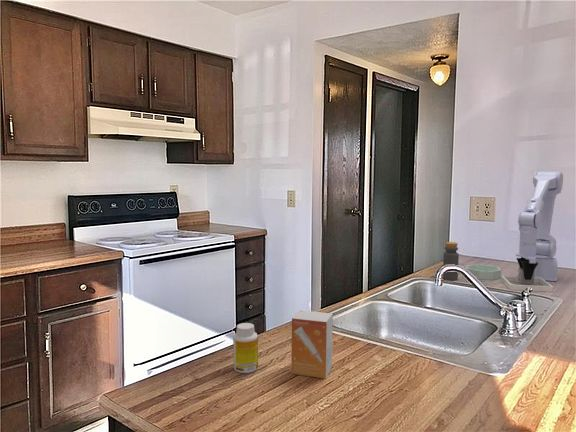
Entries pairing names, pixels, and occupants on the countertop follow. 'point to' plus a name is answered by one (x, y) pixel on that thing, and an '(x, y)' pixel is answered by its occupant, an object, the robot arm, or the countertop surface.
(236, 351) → the supplement bottle
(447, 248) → the bottle
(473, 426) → the countertop surface
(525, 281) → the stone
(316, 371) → the small box
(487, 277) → the bowl
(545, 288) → the tray
